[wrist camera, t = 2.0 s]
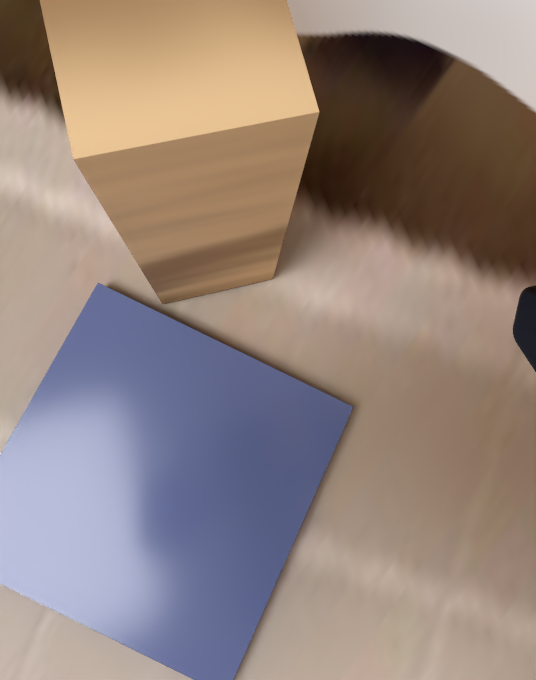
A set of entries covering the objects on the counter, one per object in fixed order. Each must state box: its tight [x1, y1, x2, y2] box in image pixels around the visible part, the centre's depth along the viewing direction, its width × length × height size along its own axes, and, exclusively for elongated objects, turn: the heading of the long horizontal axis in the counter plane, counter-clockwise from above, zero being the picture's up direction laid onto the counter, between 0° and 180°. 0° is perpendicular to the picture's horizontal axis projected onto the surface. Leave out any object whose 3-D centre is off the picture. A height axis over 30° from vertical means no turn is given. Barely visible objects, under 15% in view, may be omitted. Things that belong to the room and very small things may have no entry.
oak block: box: [40, 0, 319, 304], centre depth 16 cm, size 5×5×12 cm
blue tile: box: [0, 283, 353, 680], centre depth 20 cm, size 12×12×1 cm
